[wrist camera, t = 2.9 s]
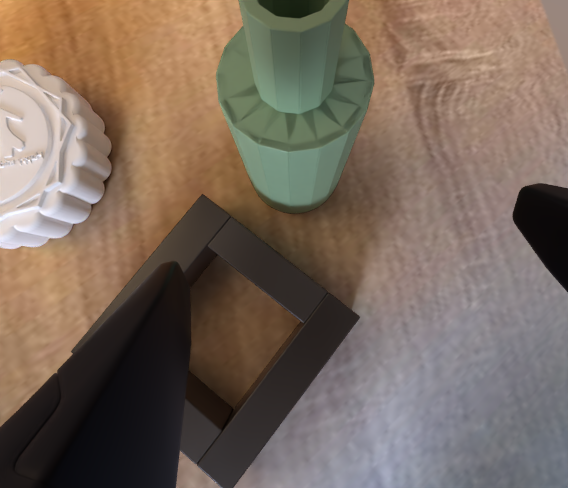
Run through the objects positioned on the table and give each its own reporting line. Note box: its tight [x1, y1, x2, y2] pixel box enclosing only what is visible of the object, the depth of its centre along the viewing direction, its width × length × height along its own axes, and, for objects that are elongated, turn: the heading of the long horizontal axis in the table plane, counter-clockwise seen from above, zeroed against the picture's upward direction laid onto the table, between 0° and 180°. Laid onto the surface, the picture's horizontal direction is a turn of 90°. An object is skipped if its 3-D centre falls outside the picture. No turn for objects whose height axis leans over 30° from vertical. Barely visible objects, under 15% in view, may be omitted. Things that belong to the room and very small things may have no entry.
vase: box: [216, 0, 374, 213], centre depth 16 cm, size 6×6×14 cm
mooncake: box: [0, 59, 111, 249], centre depth 21 cm, size 12×12×4 cm
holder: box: [71, 194, 360, 488], centre depth 20 cm, size 11×11×3 cm
